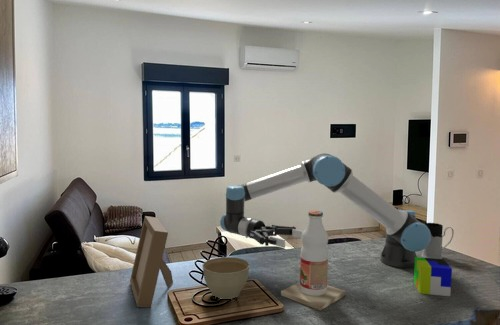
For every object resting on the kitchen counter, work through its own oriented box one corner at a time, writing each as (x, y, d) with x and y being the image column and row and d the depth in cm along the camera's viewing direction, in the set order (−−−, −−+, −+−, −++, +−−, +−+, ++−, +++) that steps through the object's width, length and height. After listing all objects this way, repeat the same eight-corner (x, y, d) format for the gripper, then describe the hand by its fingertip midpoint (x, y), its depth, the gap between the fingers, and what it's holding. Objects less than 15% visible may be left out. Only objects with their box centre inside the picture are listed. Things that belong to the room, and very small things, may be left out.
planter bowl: (255, 289, 138) (255, 259, 137) (239, 308, 123) (239, 276, 122) (214, 282, 143) (214, 254, 142) (194, 300, 128) (194, 269, 127)
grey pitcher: (417, 253, 180) (419, 222, 179) (445, 253, 182) (447, 222, 180) (428, 260, 171) (430, 227, 170) (457, 259, 173) (459, 226, 172)
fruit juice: (322, 299, 127) (325, 216, 125) (295, 293, 132) (298, 213, 129) (329, 288, 136) (332, 210, 133) (304, 283, 140) (306, 207, 137)
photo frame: (137, 309, 121) (136, 232, 119) (129, 283, 141) (128, 217, 139) (183, 301, 127) (183, 228, 125) (170, 278, 147) (169, 214, 145)
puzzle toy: (450, 296, 135) (452, 268, 134) (419, 293, 137) (421, 266, 136) (442, 285, 144) (443, 259, 143) (413, 282, 146) (415, 257, 145)
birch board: (307, 282, 145) (307, 278, 145) (345, 295, 134) (345, 290, 134) (280, 295, 133) (280, 291, 133) (320, 310, 122) (320, 306, 122)
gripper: (272, 231, 161) (315, 242, 147) (229, 244, 143) (274, 258, 128) (272, 214, 160) (315, 223, 146) (229, 224, 142) (274, 236, 128)
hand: (296, 239), depth 137 cm, fingers open, 13 cm apart
